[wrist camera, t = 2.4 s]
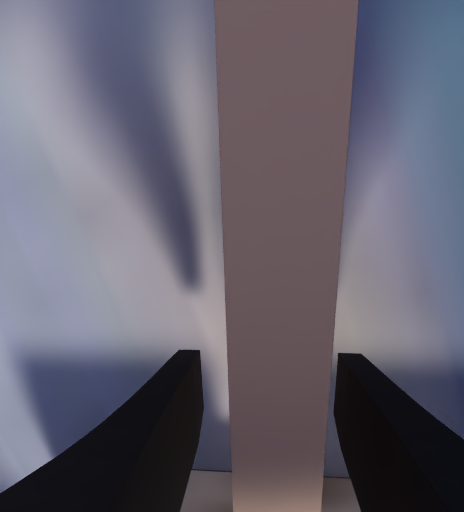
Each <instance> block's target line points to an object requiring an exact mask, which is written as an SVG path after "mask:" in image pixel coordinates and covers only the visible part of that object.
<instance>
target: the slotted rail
mask: <svg viewBox="0 0 464 512" xmlns="http://www.w3.org/2000/svg"><path fill="white" fill-rule="evenodd" d="M180 512H233V493H232V472H214V471H195V470H191V473H190V477H189V481H188V484H187V488H186V492H185V496H184V499H183V503H182V507H181V510H180ZM321 512H361V510H360V507H359V504H358V501H357V498H356V495H355V491H354V488H353V485H352V482H351V479H345V478H326V477H323V489H322V502H321Z"/></svg>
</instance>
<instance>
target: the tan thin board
mask: <svg viewBox="0 0 464 512" xmlns="http://www.w3.org/2000/svg"><path fill="white" fill-rule="evenodd" d="M358 3H359V0H214V5H215V32H216V59H217V86H218V113H219V140H220V168H221V195H222V222H223V249H224V276H225V303H226V330H227V358H228V385H229V412H230V439H231V466H232V493H233V512H321V502H322V489H323V475H324V462H325V448H326V435H327V421H328V408H329V394H330V381H331V367H332V354H333V340H334V327H335V313H336V300H337V286H338V273H339V259H340V246H341V232H342V219H343V205H344V192H345V178H346V165H347V151H348V138H349V124H350V111H351V97H352V84H353V70H354V57H355V43H356V30H357V16H358Z"/></svg>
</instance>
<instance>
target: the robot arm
mask: <svg viewBox="0 0 464 512" xmlns="http://www.w3.org/2000/svg"><path fill="white" fill-rule="evenodd" d="M203 410H204V405H203V389H202V374H201V359H200V350H179V351H178V352H176V353H175V354H174V355H173V356H172V357H171V358H170V359H169V360H168V361H167V362H166V363H165V364H164V365H163V366H162V367H161V368H160V370H159V371H158V372H157V373H156V374H155V375H154V376H153V377H152V378H151V379H150V380H149V381H147V382H146V383H145V384H144V385H143V386H142V387H141V388H140V389H139V390H138V391H137V392H136V393H135V394H134V395H133V396H132V397H131V398H130V399H129V400H127V401H126V402H125V403H124V404H123V405H122V406H121V407H120V408H118V409H117V410H116V411H115V412H114V413H113V414H112V415H110V416H109V417H108V418H107V419H106V420H105V421H103V422H102V423H101V424H100V425H98V426H97V427H96V428H95V429H93V430H92V431H91V432H90V433H88V434H87V435H86V436H84V437H83V438H82V439H80V440H79V441H78V442H76V443H75V444H74V445H72V446H71V447H69V448H68V449H67V450H65V451H64V452H63V453H61V454H60V455H58V456H57V457H55V458H54V459H52V460H51V461H49V462H48V463H46V464H45V465H43V466H42V467H40V468H39V469H37V470H36V471H34V472H33V473H31V474H30V475H28V476H26V477H25V478H23V479H22V480H20V481H19V482H17V483H16V484H14V485H13V486H11V487H10V488H8V489H6V490H5V491H3V492H1V493H0V512H180V510H181V507H182V503H183V499H184V496H185V492H186V488H187V484H188V481H189V477H190V473H191V469H192V466H193V462H194V458H195V454H196V450H197V447H198V442H199V436H200V430H201V423H202V416H203ZM334 418H335V423H336V428H337V433H338V438H339V442H340V447H341V451H342V454H343V457H344V461H345V464H346V467H347V470H348V473H349V476H350V479H351V482H352V485H353V488H354V491H355V495H356V498H357V501H358V504H359V507H360V510H361V512H464V440H463V439H462V438H461V437H460V436H458V435H457V434H456V433H454V432H453V431H452V430H450V429H449V428H448V427H447V426H445V425H444V424H443V423H441V422H440V421H439V420H437V419H436V418H435V417H434V416H432V415H431V414H430V413H429V412H428V411H426V410H425V409H424V408H423V407H421V406H420V405H419V404H418V403H417V402H415V401H414V400H413V399H412V398H411V397H410V396H408V395H407V394H406V393H405V392H404V391H403V390H401V389H400V388H399V387H398V386H397V385H396V384H395V383H393V382H392V381H391V380H390V379H389V378H388V377H387V376H386V375H384V374H383V373H382V372H381V371H380V370H379V369H378V368H377V367H376V366H374V365H373V364H372V363H371V362H370V361H369V360H368V359H367V358H365V357H364V356H363V355H362V354H354V353H338V363H337V376H336V388H335V401H334Z"/></svg>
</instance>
